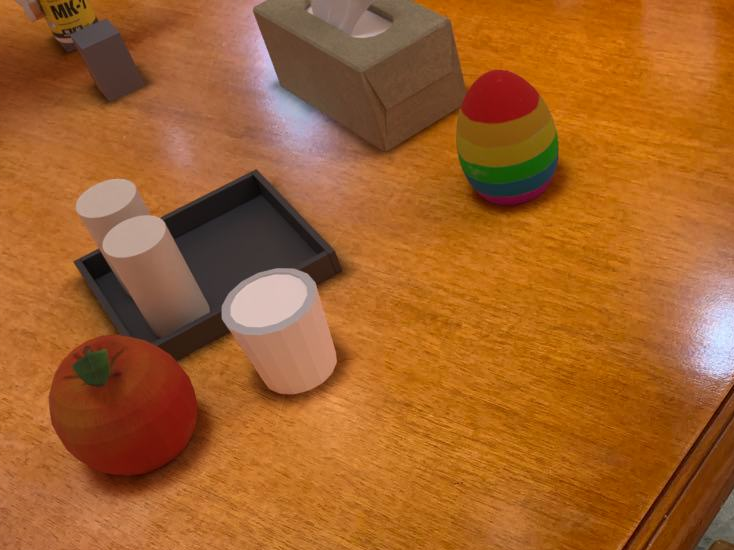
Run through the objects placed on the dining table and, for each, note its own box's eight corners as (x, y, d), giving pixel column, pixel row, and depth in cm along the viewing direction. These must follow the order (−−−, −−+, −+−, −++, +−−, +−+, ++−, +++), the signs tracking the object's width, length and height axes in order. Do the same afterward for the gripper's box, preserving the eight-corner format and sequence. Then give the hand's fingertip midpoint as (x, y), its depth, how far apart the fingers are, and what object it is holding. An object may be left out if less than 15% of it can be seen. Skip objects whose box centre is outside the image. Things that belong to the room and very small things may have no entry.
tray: (150, 381, 79) (135, 357, 76) (88, 285, 87) (72, 261, 85) (344, 276, 83) (334, 250, 80) (267, 194, 91) (256, 168, 89)
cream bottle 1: (136, 307, 83) (86, 226, 77) (116, 279, 86) (67, 198, 79) (189, 279, 84) (144, 197, 78) (168, 252, 87) (123, 170, 81)
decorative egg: (491, 230, 83) (465, 118, 75) (453, 181, 88) (425, 70, 80) (580, 192, 84) (565, 78, 76) (538, 145, 89) (519, 33, 81)
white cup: (239, 377, 77) (201, 307, 72) (310, 326, 80) (279, 253, 74) (292, 419, 74) (256, 348, 68) (365, 364, 76) (336, 291, 70)
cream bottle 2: (164, 348, 80) (114, 266, 73) (142, 317, 82) (93, 235, 76) (219, 318, 81) (175, 235, 74) (196, 289, 83) (152, 206, 77)
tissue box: (472, 105, 94) (432, -78, 82) (388, 157, 91) (333, -24, 79) (359, 43, 104) (307, -129, 92) (279, 88, 101) (215, -83, 89)
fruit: (194, 378, 78) (133, 274, 70) (232, 457, 73) (170, 354, 65) (75, 434, 76) (-2, 334, 68) (104, 519, 71) (24, 421, 63)
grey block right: (111, 105, 104) (81, 48, 99) (99, 90, 106) (69, 34, 102) (147, 89, 105) (119, 31, 100) (134, 74, 107) (106, 17, 103)
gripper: (83, -194, 98) (147, -43, 109) (-127, -116, 93) (-38, 34, 104) (105, -178, 95) (168, -24, 106) (-111, -96, 89) (-21, 57, 100)
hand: (65, 6), depth 105 cm, fingers closed on supplement bottle, 5 cm apart
